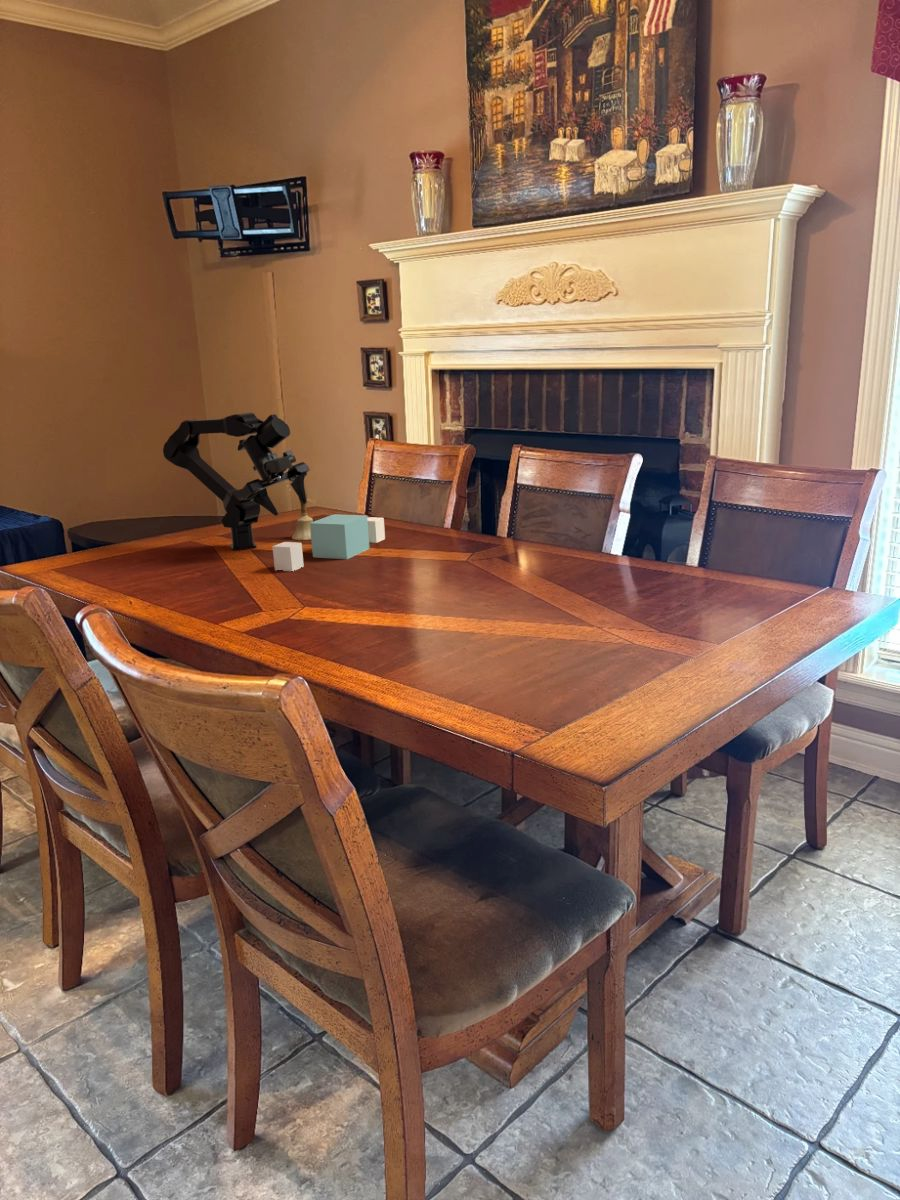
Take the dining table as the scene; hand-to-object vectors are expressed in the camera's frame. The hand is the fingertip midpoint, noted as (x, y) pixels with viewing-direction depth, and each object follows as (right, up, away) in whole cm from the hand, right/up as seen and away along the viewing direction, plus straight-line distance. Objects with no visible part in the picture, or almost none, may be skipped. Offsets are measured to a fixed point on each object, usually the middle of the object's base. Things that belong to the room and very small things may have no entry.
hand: (291, 509), depth 221 cm
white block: (+2, -16, -15) cm, 22 cm away
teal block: (+13, -12, -1) cm, 18 cm away
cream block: (+20, -7, +12) cm, 25 cm away
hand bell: (+1, -6, +20) cm, 21 cm away
